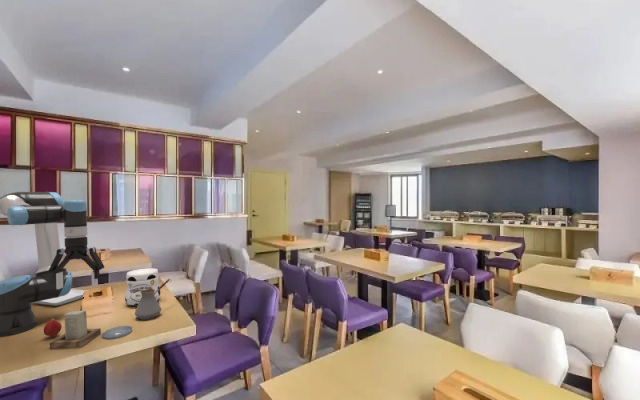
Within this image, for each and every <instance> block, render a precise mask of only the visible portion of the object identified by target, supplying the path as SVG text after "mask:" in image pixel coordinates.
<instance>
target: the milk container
mask: <svg viewBox="0 0 640 400" xmlns="http://www.w3.org/2000/svg"><path fill="white" fill-rule="evenodd" d="M125 277H126V283H125V284H126V291H125V295H124V302H125V304H127V305H128V306H131V307H138V304H139V302H140V300H141V297H142V294H141V293H140V292H141V291H143V290H148V289H154V290H155V291H156V290H158V288H159V287H160V285H159V270H158V268H154V267H146V268H140V269H139V268H138V269H133V270H130V271H128V272H126V276H125ZM154 296H155V298H156V300H157V301H159V299H160V297H161V289H160V290H159V291H158V292H157V293H156V294H155V295H154ZM127 305H126V306H127Z"/></svg>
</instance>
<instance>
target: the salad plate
mask: <svg viewBox="0 0 640 400" xmlns="http://www.w3.org/2000/svg"><path fill="white" fill-rule="evenodd" d="M84 291H87V290H85V289H73V288H71V290H70V292H69V293H68V294H67V295H65V296H61V297H58V298H52V299H47V300H43V301H38V302H33V303H32V304H37V305H38V304H39V305H47V306H54V307H55V306H56V307H58V306H62V305H66V304H69V303H71V302H75V301H79V300H81V299H83V298H82V297H83V295H84V294H83V293H84Z"/></svg>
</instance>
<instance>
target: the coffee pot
mask: <svg viewBox="0 0 640 400" xmlns="http://www.w3.org/2000/svg"><path fill="white" fill-rule="evenodd" d="M169 282H170V283H172V280H171V279H170V278H168V279H167V280H165V282H163V283H162V284H161V285H159V288H158V290H156V291H155V290H154V289H148V290H143V291H141V292H140V293H141V294H142V297H141V300H140V302H139V304H138V306H136V309H135V312H134V315H135V317H136V318H137V319H139V320H141V321H142V320H151V319H154V318H156V317H157V316H158V315H159V314H160V312H161V311H162V308H161V305H160V304H159V302H158V300H156V298H155V296H154V295H155V294H156V293H157V292H158V291H159V290H160V291H161V290H162V288H164V286H166V284H168V283H169Z"/></svg>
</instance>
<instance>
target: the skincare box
mask: <svg viewBox="0 0 640 400" xmlns="http://www.w3.org/2000/svg"><path fill="white" fill-rule="evenodd" d="M87 323H88V321H87V310H72V311H69V312H67V313H64V331H65V332H64V334H65V337H66V340H76V339H81V338H82V337H84V336H85V335H87V329H88V324H87Z"/></svg>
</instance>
